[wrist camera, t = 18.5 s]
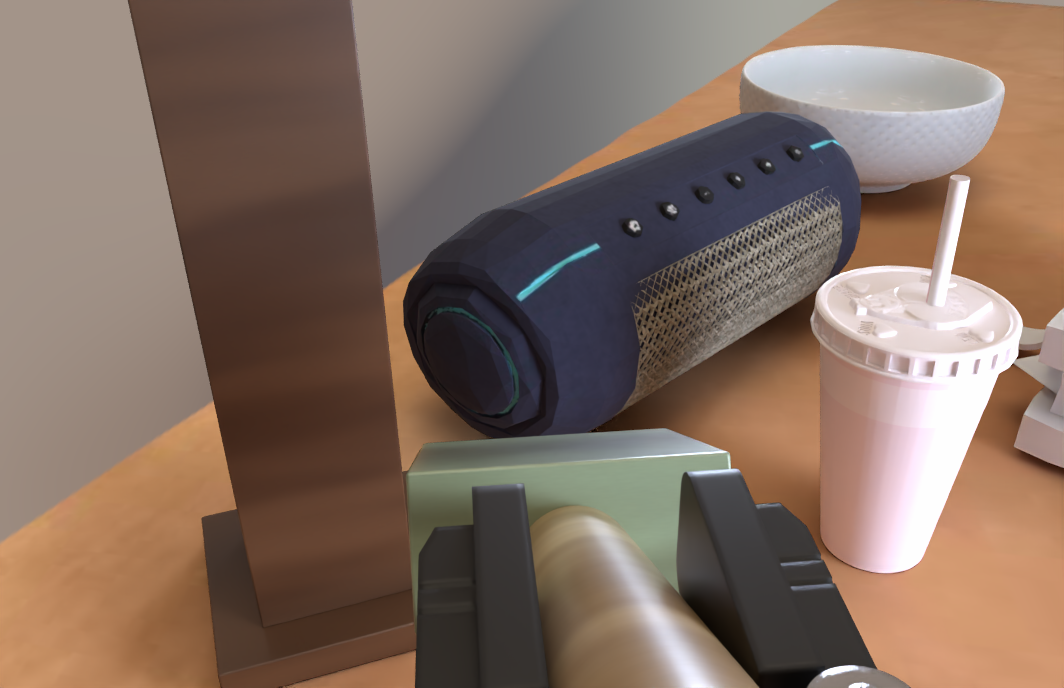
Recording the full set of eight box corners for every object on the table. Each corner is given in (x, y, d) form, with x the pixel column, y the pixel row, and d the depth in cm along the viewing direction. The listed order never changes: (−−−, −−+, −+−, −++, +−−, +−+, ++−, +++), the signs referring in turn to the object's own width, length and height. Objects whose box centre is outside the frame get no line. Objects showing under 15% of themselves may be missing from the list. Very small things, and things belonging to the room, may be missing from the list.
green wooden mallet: (1057, 922, 8) (1035, 566, 8) (340, 989, 8) (319, 617, 8) (675, 549, 24) (667, 427, 24) (429, 567, 24) (422, 442, 24)
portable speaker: (550, 521, 38) (547, 286, 33) (389, 419, 44) (366, 209, 39) (878, 298, 53) (910, 114, 48) (724, 246, 59) (738, 78, 54)
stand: (490, 678, 31) (411, -672, 16) (230, 755, 29) (-157, -732, 14) (414, 493, 40) (313, -519, 24) (206, 541, 37) (-52, -541, 22)
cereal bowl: (931, 243, 59) (954, 127, 56) (688, 184, 68) (694, 81, 65) (1016, 163, 70) (1040, 63, 67) (798, 122, 80) (809, 31, 76)
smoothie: (992, 601, 34) (1101, 218, 27) (802, 601, 34) (861, 221, 27) (931, 483, 39) (1007, 142, 32) (768, 484, 40) (809, 144, 33)
